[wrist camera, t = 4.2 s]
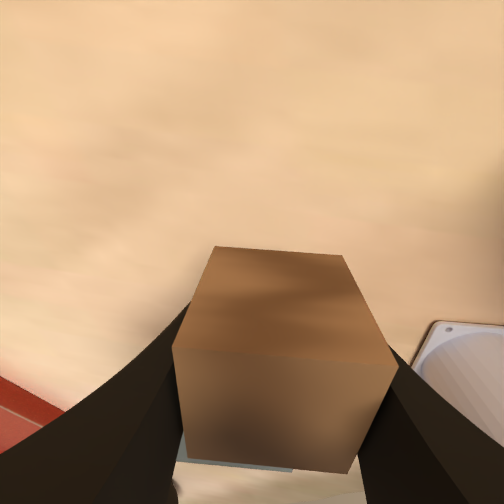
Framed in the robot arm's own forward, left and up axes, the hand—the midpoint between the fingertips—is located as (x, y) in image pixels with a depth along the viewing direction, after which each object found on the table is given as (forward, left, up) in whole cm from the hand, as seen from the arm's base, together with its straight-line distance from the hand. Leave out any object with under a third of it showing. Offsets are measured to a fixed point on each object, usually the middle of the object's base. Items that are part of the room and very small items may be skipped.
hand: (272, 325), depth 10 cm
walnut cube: (0, 0, -2) cm, 2 cm away
